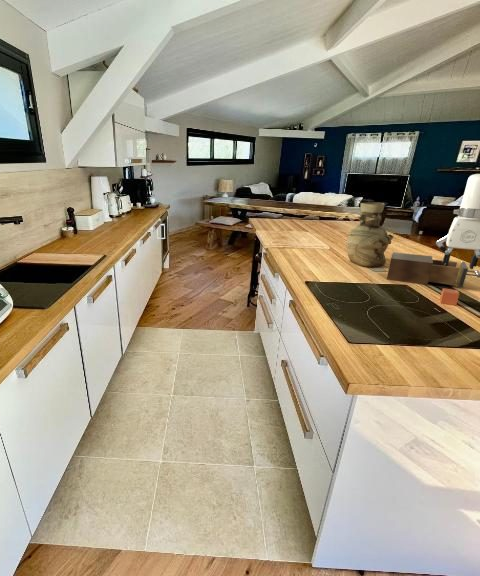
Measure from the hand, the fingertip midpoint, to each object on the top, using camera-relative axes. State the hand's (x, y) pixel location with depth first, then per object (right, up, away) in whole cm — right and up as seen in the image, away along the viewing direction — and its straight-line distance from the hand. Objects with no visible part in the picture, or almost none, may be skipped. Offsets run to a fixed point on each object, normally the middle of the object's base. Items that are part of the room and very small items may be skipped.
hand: (458, 266), depth 108 cm
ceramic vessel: (-3, +5, +54) cm, 55 cm away
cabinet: (+3, -3, +30) cm, 30 cm away
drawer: (+15, -5, +22) cm, 27 cm away
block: (0, -13, +5) cm, 14 cm away
